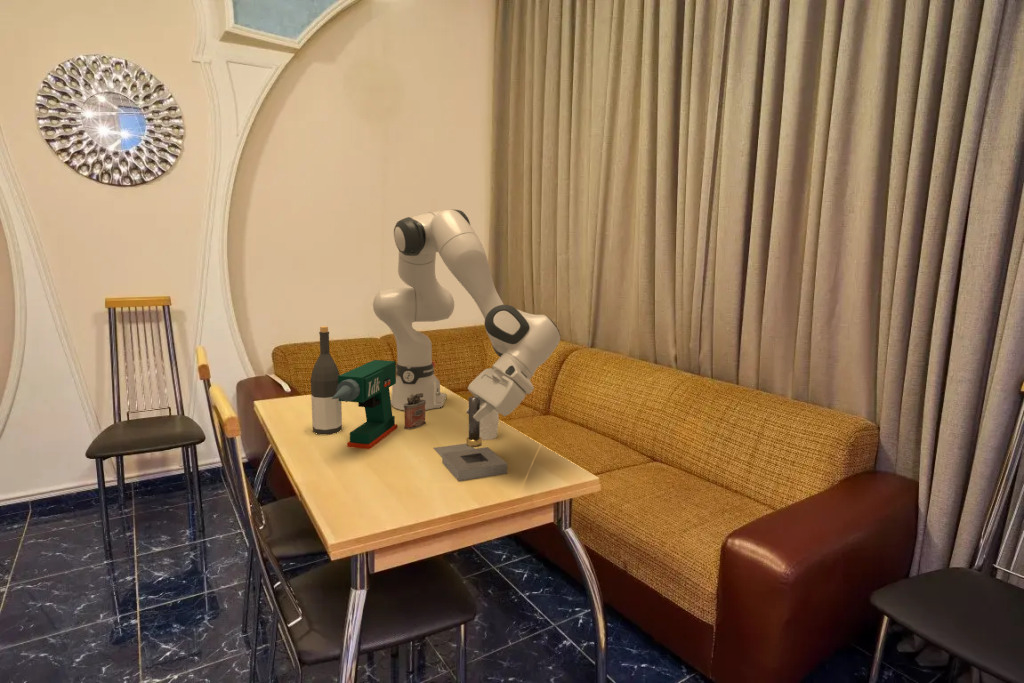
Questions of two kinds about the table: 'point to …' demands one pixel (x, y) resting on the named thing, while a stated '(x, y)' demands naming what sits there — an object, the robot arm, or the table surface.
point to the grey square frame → (474, 463)
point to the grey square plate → (452, 448)
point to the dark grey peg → (474, 423)
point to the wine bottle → (325, 390)
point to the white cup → (489, 425)
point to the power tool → (370, 400)
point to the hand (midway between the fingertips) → (471, 416)
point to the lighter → (414, 411)
